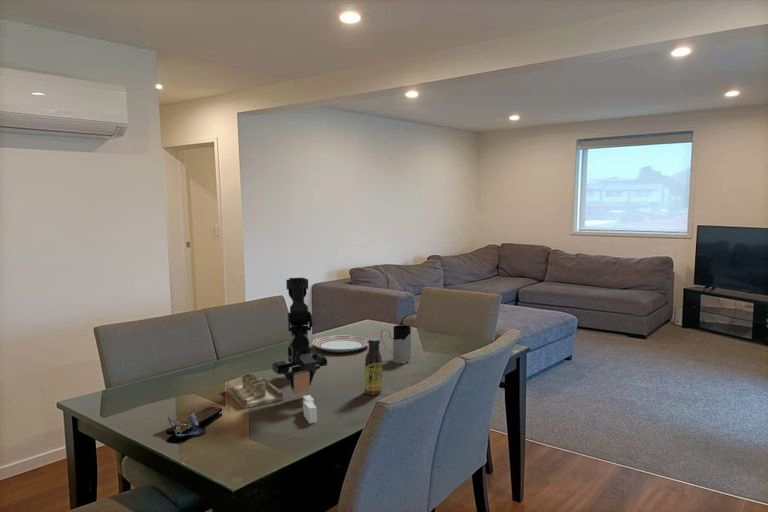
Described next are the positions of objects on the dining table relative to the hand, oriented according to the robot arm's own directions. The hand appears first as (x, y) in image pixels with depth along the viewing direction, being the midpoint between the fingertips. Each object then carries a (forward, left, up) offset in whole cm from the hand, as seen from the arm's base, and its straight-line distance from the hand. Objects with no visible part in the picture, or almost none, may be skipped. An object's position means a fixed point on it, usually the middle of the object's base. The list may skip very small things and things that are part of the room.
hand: (300, 387), depth 186 cm
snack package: (+40, +6, -4) cm, 41 cm away
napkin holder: (+4, +16, -5) cm, 17 cm away
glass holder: (-54, -19, -4) cm, 57 cm away
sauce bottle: (-24, +10, -4) cm, 26 cm away
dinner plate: (-44, -51, -4) cm, 68 cm away
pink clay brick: (0, 0, -2) cm, 2 cm away
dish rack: (+13, -12, -4) cm, 18 cm away
